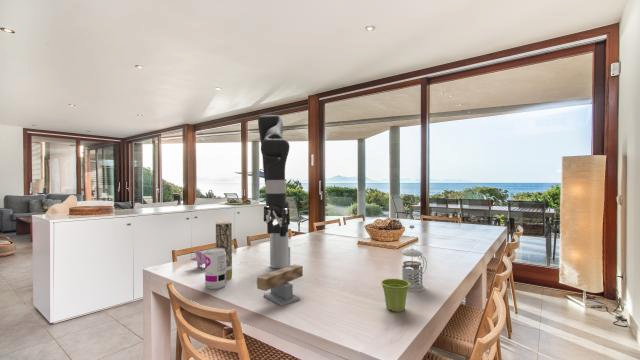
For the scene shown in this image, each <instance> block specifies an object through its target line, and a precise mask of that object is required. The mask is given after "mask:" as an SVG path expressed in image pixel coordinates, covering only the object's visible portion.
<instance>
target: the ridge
mask: <svg viewBox="0 0 640 360" xmlns="http://www.w3.org/2000/svg"><path fill="white" fill-rule="evenodd" d="M293 288H294V287H293V284H292V283H290V282H287V283H284V284H282V285H279V286H277V287H274V288H272V289H270V291H269V292H265V293H263V297H264V298H266V299H267V300H270V301H272V302H273V303H274V304H277V305H279V306H280V307H283V306H285V305H289V304H291V303H295V302H299V301H301V297H300V296H297V295H296V294H294V293H293V290H294V289H293Z"/></svg>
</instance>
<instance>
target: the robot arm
mask: <svg viewBox="0 0 640 360" xmlns="http://www.w3.org/2000/svg"><path fill="white" fill-rule="evenodd" d="M257 125H258V133H259V140H260V152H261V157H262V169H263V170H262V171H263V176H264V185H265V205H266V206H263V222H265V223H266V225H267V227H266V230H267V231H266V232H267V234H269V253H270V254H269V261H270V262H269V264H270V265H269V266H270V268H271V269H282V268H285V267H288V266H291V247H290V245H289V243H290V242H289V226H290V225H291V220H290V217H291V215H290V204H289V202H288V200H287V186H286V164H287V159H288V157H289V156H288V155H289V151H290V143H289V141H288V140H287V139H285V138H283V131H284V124H283V120H282V117H281V116H280V115H277V114H271V115H270V114H269V115H268V114H267V115H260V116H259V117H258V119H257ZM275 220H276V222H278V223H275V224H274V222H275Z"/></svg>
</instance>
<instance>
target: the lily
mask: <svg viewBox="0 0 640 360" xmlns="http://www.w3.org/2000/svg"><path fill="white" fill-rule="evenodd" d="M193 251H194V254H195V257H191V258H190V259H189V260H190V261H195V262H196V266H197V267H198V266H199V267H201V268H200V271H201V272H203V265H205V253H206V251H205V252H202V251H200V250H198V249H194V250H193Z"/></svg>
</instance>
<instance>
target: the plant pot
mask: <svg viewBox="0 0 640 360" xmlns="http://www.w3.org/2000/svg"><path fill="white" fill-rule="evenodd" d="M380 284H381V285H382V286H381V287H382V289H383V293H384V300H385V301H384V302H385V308H386V309H387V310H388V311H392V312H402V311H404V310H405V309H406V304H407V295H408V294H407V293H408V291H407V290H408V286H409V285H410V283H409V282H407V281H405V280H402V279H401V278H385V279H382V280H381V281H380Z"/></svg>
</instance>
